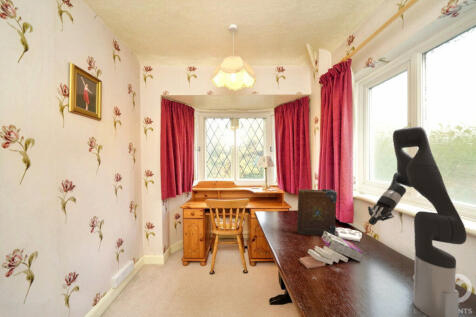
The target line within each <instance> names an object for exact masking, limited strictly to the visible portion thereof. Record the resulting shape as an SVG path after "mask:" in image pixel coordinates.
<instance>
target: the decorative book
mask: <svg viewBox="0 0 476 317" xmlns="http://www.w3.org/2000/svg"><path fill="white" fill-rule="evenodd" d="M297 192H298V193H297V217H296V218H297V222H296V233H298V234H300V235H307V236H308V235H309V236H321V237H322V235H323V233H324V231H325V232H328V233H330V234H332V235H335V233H336V228H337V227H336V211H337V210H336V208H337V207H336V206H337V204H336V203H337V202H338V201H337V200H338V192H337V191H336V190H333V189H327V188H326V189H324V188H323V189H303V188H302V189H301V188H300V189H298V191H297ZM335 236H336V235H335Z"/></svg>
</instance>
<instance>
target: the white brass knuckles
mask: <svg viewBox="0 0 476 317" xmlns="http://www.w3.org/2000/svg"><path fill="white" fill-rule="evenodd" d="M335 236H337V237H339V238H341V239H344V240H347V241H354V242H360V241H361V239H362V238H363V237H362V236H363V234H362V232H361V231H358V230H353V229H351V228H344V227H336V233H335Z"/></svg>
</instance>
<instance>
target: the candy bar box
mask: <svg viewBox="0 0 476 317" xmlns="http://www.w3.org/2000/svg"><path fill="white" fill-rule="evenodd" d="M321 240H322V241H323V242H324V244H325V246H327V247H328V248H330V249H332V250H335V251H337V252H339V253H341V254H342V255H344V256H345V257H347V258H351V259H353V260H355V261H357V262H359V263H360V262H361V261H362V260H363V257H364V255H365V254H364V252H362V250H361V249H359V248H358V247H357V246H356V245H355V244H354V243H352V242H350V241H349V240H347V239H342V238H339V237H338V236H337V235H332V234H330V233H328V232H325V231H324V233H323V235H322V236H321Z"/></svg>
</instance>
